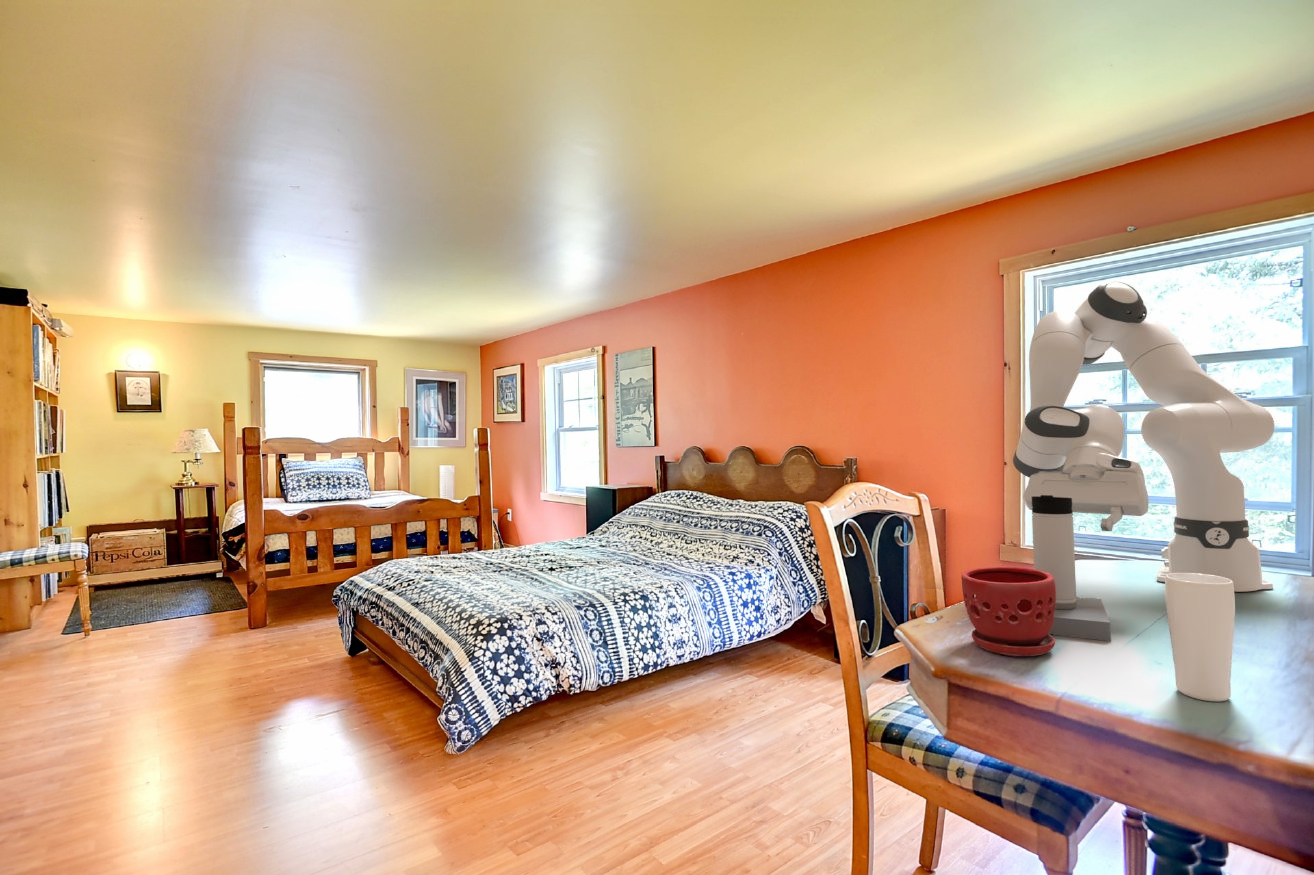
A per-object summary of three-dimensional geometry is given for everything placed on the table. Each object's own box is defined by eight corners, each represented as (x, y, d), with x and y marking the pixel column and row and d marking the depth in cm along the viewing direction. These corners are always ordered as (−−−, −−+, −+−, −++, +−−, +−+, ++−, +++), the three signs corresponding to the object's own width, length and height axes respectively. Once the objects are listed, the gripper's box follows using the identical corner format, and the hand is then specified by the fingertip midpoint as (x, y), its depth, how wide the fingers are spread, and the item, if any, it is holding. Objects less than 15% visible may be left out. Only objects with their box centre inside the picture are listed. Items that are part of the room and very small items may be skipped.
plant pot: (1013, 632, 109) (1010, 562, 109) (1079, 657, 96) (1076, 578, 96) (946, 639, 106) (943, 568, 106) (1005, 666, 93) (1002, 585, 93)
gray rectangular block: (1014, 607, 123) (1013, 592, 123) (1101, 615, 116) (1101, 599, 116) (1011, 630, 110) (1011, 613, 110) (1110, 641, 102) (1109, 622, 102)
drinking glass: (1245, 696, 80) (1240, 578, 80) (1230, 710, 76) (1225, 586, 76) (1178, 680, 86) (1174, 570, 86) (1161, 693, 82) (1156, 578, 82)
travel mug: (1030, 606, 113) (1025, 494, 113) (1041, 599, 118) (1036, 491, 118) (1071, 612, 108) (1066, 496, 109) (1080, 604, 113) (1076, 493, 113)
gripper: (1027, 461, 133) (1011, 513, 126) (1149, 462, 117) (1138, 520, 111) (1035, 481, 135) (1020, 532, 129) (1155, 484, 120) (1145, 542, 114)
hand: (1076, 527), depth 120 cm, fingers open, 8 cm apart
